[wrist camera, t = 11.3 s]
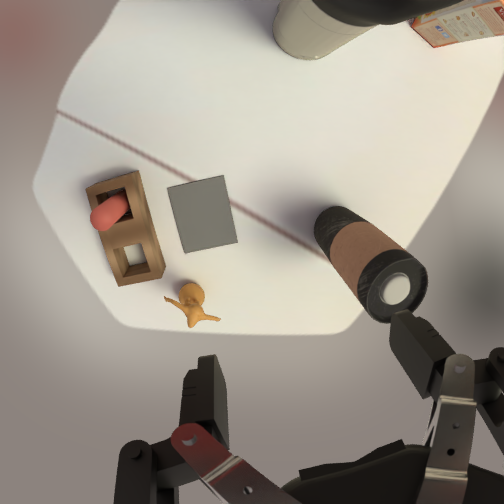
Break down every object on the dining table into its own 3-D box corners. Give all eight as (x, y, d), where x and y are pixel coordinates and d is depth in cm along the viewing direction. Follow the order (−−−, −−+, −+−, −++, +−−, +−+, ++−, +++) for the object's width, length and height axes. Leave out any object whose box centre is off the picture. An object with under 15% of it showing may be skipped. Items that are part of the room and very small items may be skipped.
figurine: (164, 289, 48) (150, 335, 37) (177, 258, 46) (165, 299, 35) (211, 309, 50) (209, 357, 39) (227, 279, 48) (229, 324, 37)
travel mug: (316, 257, 48) (366, 334, 30) (307, 211, 45) (362, 270, 27) (361, 244, 48) (427, 310, 30) (354, 198, 45) (430, 248, 27)
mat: (167, 188, 42) (167, 188, 42) (223, 175, 42) (223, 175, 42) (185, 252, 46) (184, 253, 46) (237, 241, 46) (237, 242, 46)
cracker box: (435, 50, 36) (527, 35, 17) (409, 26, 34) (498, -4, 15) (457, 5, 32) (536, -16, 13) (433, -18, 30) (510, -49, 11)
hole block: (96, 183, 41) (85, 188, 37) (138, 170, 41) (130, 174, 37) (125, 274, 47) (118, 286, 43) (165, 266, 47) (161, 278, 43)
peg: (112, 192, 42) (87, 210, 33) (130, 187, 42) (108, 203, 33) (118, 212, 43) (94, 233, 34) (136, 207, 43) (115, 227, 34)
